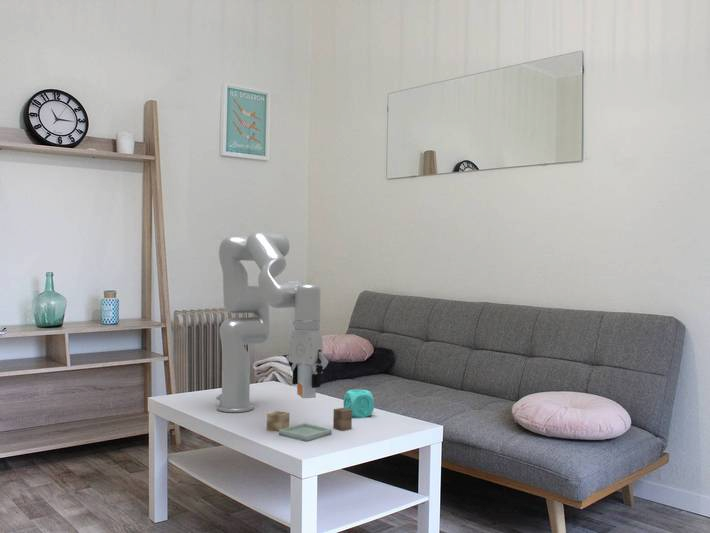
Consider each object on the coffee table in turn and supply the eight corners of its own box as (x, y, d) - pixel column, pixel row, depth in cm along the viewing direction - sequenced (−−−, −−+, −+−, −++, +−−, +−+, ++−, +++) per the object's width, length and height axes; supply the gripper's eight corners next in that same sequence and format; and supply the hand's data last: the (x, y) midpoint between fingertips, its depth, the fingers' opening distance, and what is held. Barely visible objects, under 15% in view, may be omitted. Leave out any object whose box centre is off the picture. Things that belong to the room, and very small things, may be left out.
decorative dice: (364, 412, 232) (364, 388, 232) (374, 417, 225) (374, 393, 225) (343, 413, 229) (343, 390, 229) (351, 418, 222) (352, 394, 222)
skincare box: (296, 394, 202) (297, 355, 202) (310, 394, 203) (310, 354, 203) (302, 398, 196) (302, 357, 196) (316, 397, 198) (316, 357, 198)
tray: (279, 434, 199) (279, 429, 199) (304, 428, 208) (304, 423, 208) (306, 441, 192) (306, 436, 192) (331, 434, 201) (331, 429, 201)
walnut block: (333, 428, 208) (333, 409, 208) (343, 426, 211) (343, 407, 211) (341, 431, 205) (341, 411, 205) (351, 429, 208) (351, 409, 208)
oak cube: (266, 430, 204) (266, 414, 204) (275, 426, 209) (275, 410, 209) (280, 432, 202) (281, 415, 202) (289, 428, 207) (289, 412, 207)
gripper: (277, 324, 202) (276, 383, 202) (320, 328, 191) (319, 391, 191) (294, 323, 208) (294, 380, 208) (337, 327, 197) (336, 387, 197)
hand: (306, 385), depth 200 cm, fingers closed on skincare box, 7 cm apart
